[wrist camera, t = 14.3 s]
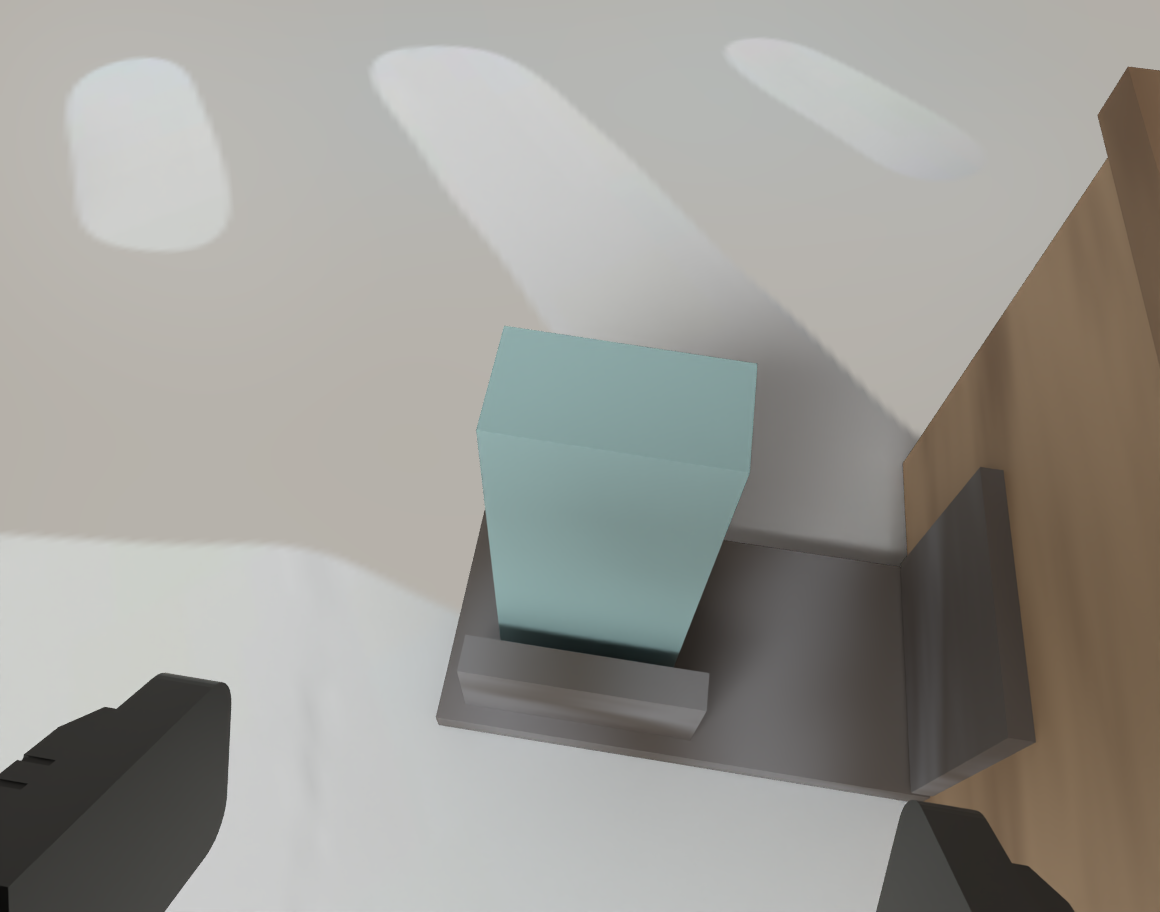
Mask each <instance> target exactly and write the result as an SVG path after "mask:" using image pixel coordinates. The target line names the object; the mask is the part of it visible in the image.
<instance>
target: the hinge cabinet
mask: <svg viewBox="0 0 1160 912" xmlns="http://www.w3.org/2000/svg"><path fill="white" fill-rule="evenodd" d="M1098 119H1099V123H1100V127H1101V131H1102V135H1103V139H1104V143H1105V147H1106V151H1107V155H1108V158H1107V160H1106V161H1105V162H1104V164H1103V165H1102V167H1101V168H1100V170H1099V171H1098V173H1097V174H1096V176H1095V177H1094V179H1093V180H1092V182H1091V183H1090V185H1089V186H1088V188H1087V189H1086V191H1085V192H1084V194H1083V195H1082V197H1081V198H1080V200H1079V201H1078V203H1077V204H1076V206H1075V207H1074V209H1073V210H1072V212H1071V213H1070V215H1069V216H1068V218H1067V219H1066V221H1065V222H1064V224H1063V225H1062V227H1061V228H1060V230H1059V231H1058V233H1057V234H1056V236H1055V237H1054V239H1053V240H1052V242H1051V243H1050V245H1049V246H1048V248H1047V249H1046V250H1045V252H1044V254H1043V255H1042V256H1041V258H1040V260H1039V261H1038V262H1037V264H1036V265H1035V267H1034V269H1033V270H1032V272H1031V273H1030V274H1029V276H1028V277H1027V279H1026V280H1025V282H1024V283H1023V285H1022V287H1021V288H1020V289H1019V291H1018V292H1017V294H1016V296H1015V297H1014V298H1013V300H1012V301H1011V303H1010V304H1009V306H1008V307H1007V309H1006V310H1005V312H1004V313H1003V315H1002V316H1001V318H1000V319H999V321H998V322H997V324H996V325H995V327H994V328H993V330H992V331H991V333H990V334H989V336H988V337H987V339H986V340H985V342H984V343H983V345H982V346H981V348H980V349H979V350H978V352H977V353H976V355H975V357H974V358H973V359H972V361H971V362H970V364H969V365H968V367H967V368H966V370H965V371H964V373H963V374H962V376H961V377H960V379H959V380H958V382H957V383H956V385H955V386H954V388H953V389H952V391H951V392H950V394H949V395H948V397H947V398H946V400H945V401H944V403H943V404H942V406H941V407H940V409H939V410H938V412H937V413H936V415H935V416H934V418H933V419H932V421H931V422H930V424H929V425H928V427H927V428H926V430H925V431H924V433H923V434H922V436H921V437H920V439H919V440H918V442H917V443H916V445H915V446H914V448H913V449H912V451H911V452H910V453H909V455H908V456H907V458H906V459H905V461H904V462H903V478H904V498H905V518H906V538H907V557H906V558H905V559H904V561H903V562H902V563H901V567H898V566H891V565H884V564H878V563H871V562H864V561H858V560H851V559H845V558H838V557H831V556H825V555H818V554H811V553H805V552H798V551H791V550H785V549H778V548H772V547H765V546H758V545H752V544H745V543H738V542H732V541H725V540H723V542H722V545H721V548H720V550H719V553H718V555H717V558H716V560H715V563H714V565H713V568H712V570H711V573H710V576H709V578H708V581H707V583H706V586H705V588H704V591H703V593H702V596H701V599H700V601H699V604H698V606H697V609H696V611H695V614H694V616H693V619H692V621H691V624H690V627H689V629H688V632H687V634H686V637H685V639H684V642H683V644H682V647H681V649H680V652H679V655H678V657H677V660H676V662H675V665H674V667H667V666H660V665H654V664H648V663H641V662H635V661H629V660H623V659H616V658H610V657H604V656H597V655H591V654H585V653H578V652H572V651H566V650H559V649H553V648H547V647H540V646H534V645H528V644H521V643H515V642H509V641H502V640H500V631H499V623H498V614H497V605H496V597H495V588H494V580H493V571H492V562H491V554H490V545H489V536H488V528H487V519H486V511H484V516H483V520H482V524H481V528H480V532H479V537H478V541H477V545H476V549H475V554H474V558H473V562H472V566H471V571H470V575H469V579H468V584H467V588H466V592H465V596H464V600H463V604H462V609H461V613H460V617H459V621H458V626H457V630H456V634H455V638H454V643H453V647H452V651H451V655H450V660H449V664H448V668H447V672H446V677H445V681H444V685H443V689H442V694H441V698H440V702H439V706H438V711H437V715H436V719H437V722H438V724H439V725H443V726H449V727H455V728H462V729H468V730H474V731H480V732H486V733H492V734H498V735H504V736H510V737H517V738H523V739H529V740H535V741H541V742H547V743H553V744H559V745H566V746H572V747H578V748H584V749H590V750H596V751H602V752H608V753H615V754H621V755H627V756H633V757H639V758H645V759H651V760H657V761H664V762H670V763H676V764H682V765H688V766H694V767H700V768H706V769H712V770H719V771H725V772H731V773H737V774H743V775H749V776H755V777H761V778H768V779H774V780H780V781H786V782H792V783H798V784H804V785H810V786H817V787H823V788H829V789H835V790H841V791H847V792H853V793H859V794H866V795H872V796H878V797H884V798H890V799H896V800H902V801H910V800H918V801H924V802H930V803H936V804H942V805H948V806H954V807H960V808H966V809H972V810H977V811H979V812H981V813H982V814H983V815H984V817H985V818H986V820H987V821H988V823H989V825H990V826H991V828H992V830H993V832H994V833H995V835H996V837H997V838H998V840H999V842H1000V844H1001V845H1002V847H1003V849H1004V850H1005V852H1006V854H1007V855H1008V857H1009V859H1010V861H1011V862H1012V863H1015V864H1020V865H1026V866H1029V867H1030V868H1031V869H1032V870H1033V871H1035V872H1036V873H1037V874H1038V875H1039V876H1040V877H1041V878H1042V879H1043V880H1044V881H1046V882H1047V883H1048V884H1049V885H1050V886H1051V887H1052V888H1053V889H1054V890H1055V891H1057V892H1058V893H1059V894H1060V895H1061V896H1062V897H1063V898H1064V899H1065V900H1066V901H1068V902H1069V904H1070V905H1071V907H1072V908H1073V910H1074V911H1075V912H1160V71H1159V70H1151V69H1143V68H1135V67H1128V68H1127V69H1126V71H1125V72H1124V74H1123V75H1122V77H1121V79H1120V80H1119V82H1118V83H1117V85H1116V87H1115V88H1114V90H1113V92H1112V93H1111V95H1110V96H1109V98H1108V99H1107V101H1106V103H1105V104H1104V106H1103V107H1102V109H1101V111H1100V112H1099V114H1098Z"/></svg>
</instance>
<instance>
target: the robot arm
mask: <svg viewBox="0 0 1160 912" xmlns="http://www.w3.org/2000/svg"><path fill="white" fill-rule="evenodd" d="M230 720H231V693H230V690H229V687H228V686H227V685H226V684H225V683H223V682H217V681H211V680H205V679H199V678H193V677H187V676H181V675H175V674H169V673H161V674H158V675H157V676H155V677H154V678H153V679H151V680H150V681H149V682H148V683H147V684H145V685H144V686H143V687H142V688H141V689H140V690H138V691H137V692H136V693H135V694H134V695H132V696H131V697H130V698H129V699H128V700H127V701H125V702H124V703H123V704H122V705H121V706H119V707H118V708H117V709H114V708H108V707H104V708H101V709H99V710H97V711H95V712H92V713H90V714H88V715H85V716H83V717H81V718H79V719H76V720H74V721H72V722H69V723H67V724H65V725H63V726H60V727H58V728H57V729H56V730H54V731H53V732H52V733H51V734H49V735H48V736H47V737H46V738H44V739H43V740H42V741H41V742H39V743H38V744H37V745H35V746H34V747H33V748H32V749H30V750H29V751H28V752H27V753H25V754H24V757H23V759H22V761H19V760H17V761H15V762H14V763H13V764H12V765H10V766H9V767H8V768H6V769H5V770H4V771H3V772H1V773H0V912H165V910H166V909H167V908H168V906H169V905H170V903H171V902H172V901H173V899H174V898H175V897H176V895H177V894H178V893H179V891H180V890H181V889H182V887H183V886H184V885H185V883H186V882H187V881H188V879H189V878H190V877H191V875H192V874H193V873H194V871H195V870H196V869H197V867H198V866H199V865H200V863H201V862H202V861H203V859H204V858H205V857H206V855H207V854H208V852H209V850H210V849H211V847H212V845H213V843H214V841H215V839H216V836H217V834H218V832H219V829H220V826H221V823H222V819H223V816H224V812H225V807H226V800H227V784H228V763H229V741H230ZM876 912H1075V911H1074V910H1073V908H1072V907H1071V905H1070V904H1069V902H1068V901H1066V900H1065V899H1064V898H1063V897H1062V896H1061V895H1060V894H1059V893H1058V892H1057V891H1055V890H1054V889H1053V888H1052V887H1051V886H1050V885H1049V884H1048V883H1047V882H1046V881H1044V880H1043V879H1042V878H1041V877H1040V876H1039V875H1038V874H1037V873H1036V872H1035V871H1033V870H1032V869H1031V868H1030V867H1029V866H1026V865H1020V864H1015V863H1012V862H1011V861H1010V859H1009V857H1008V855H1007V854H1006V852H1005V850H1004V849H1003V847H1002V845H1001V844H1000V842H999V840H998V838H997V837H996V835H995V833H994V832H993V830H992V828H991V826H990V825H989V823H988V821H987V820H986V818H985V817H984V815H983V814H982V813H981V812H979V811H977V810H972V809H966V808H960V807H954V806H948V805H942V804H936V803H930V802H924V801H918V800H910V801H908V802H907V803H906V804H905V806H904V808H903V810H902V812H901V815H900V819H899V823H898V827H897V831H896V835H895V839H894V843H893V847H892V851H891V855H890V859H889V863H888V867H887V871H886V875H885V879H884V883H883V887H882V891H881V895H880V899H879V903H878V907H877V911H876Z"/></svg>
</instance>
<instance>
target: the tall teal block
mask: <svg viewBox="0 0 1160 912" xmlns="http://www.w3.org/2000/svg"><path fill="white" fill-rule="evenodd" d="M756 377H757V364H756V363H750V362H743V361H736V360H730V359H723V358H716V357H710V356H703V355H696V354H690V353H683V352H676V351H669V350H663V349H656V348H649V347H643V346H636V345H629V344H623V343H616V342H609V341H603V340H596V339H589V338H583V337H576V336H569V335H563V334H556V333H549V332H542V331H536V330H529V329H522V328H515V327H508V326H504V329H503V332H502V336H501V340H500V344H499V347H498V351H497V355H496V358H495V362H494V366H493V369H492V373H491V377H490V381H489V385H488V388H487V392H486V395H485V399H484V403H483V407H482V410H481V414H480V418H479V422H478V425H477V429H476V433H477V441H478V450H479V459H480V466H481V476H482V485H483V493H484V501H485V511H486V519H487V528H488V536H489V545H490V554H491V562H492V571H493V580H494V588H495V597H496V605H497V614H498V623H499V631H500V640H502V641H509V642H515V643H521V644H528V645H534V646H540V647H547V648H553V649H559V650H566V651H572V652H578V653H585V654H591V655H597V656H604V657H610V658H616V659H623V660H629V661H635V662H641V663H648V664H654V665H660V666H667V667H674V665H675V662H676V660H677V657H678V655H679V652H680V649H681V647H682V644H683V642H684V639H685V637H686V634H687V632H688V629H689V627H690V624H691V621H692V619H693V616H694V614H695V611H696V609H697V606H698V604H699V601H700V599H701V596H702V593H703V591H704V588H705V586H706V583H707V581H708V578H709V576H710V573H711V570H712V568H713V565H714V563H715V560H716V558H717V555H718V553H719V550H720V548H721V545H722V542H723V540H724V537H725V535H726V532H727V530H728V527H729V525H730V522H731V519H732V517H733V514H734V512H735V509H736V507H737V504H738V502H739V499H740V497H741V494H742V491H743V489H744V486H745V484H746V481H747V479H748V476H749V474H750V463H751V448H752V434H753V420H754V405H755V391H756Z"/></svg>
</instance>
